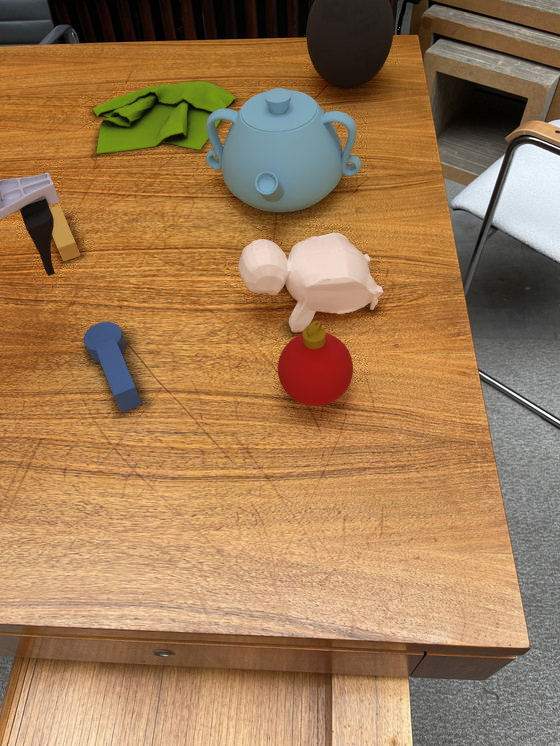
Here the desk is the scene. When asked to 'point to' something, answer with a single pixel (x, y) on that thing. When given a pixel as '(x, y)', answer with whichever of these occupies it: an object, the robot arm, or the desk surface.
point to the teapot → (282, 150)
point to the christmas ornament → (315, 367)
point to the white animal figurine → (311, 275)
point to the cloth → (160, 116)
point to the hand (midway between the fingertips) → (10, 282)
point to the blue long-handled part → (113, 362)
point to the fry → (63, 235)
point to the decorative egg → (349, 40)
